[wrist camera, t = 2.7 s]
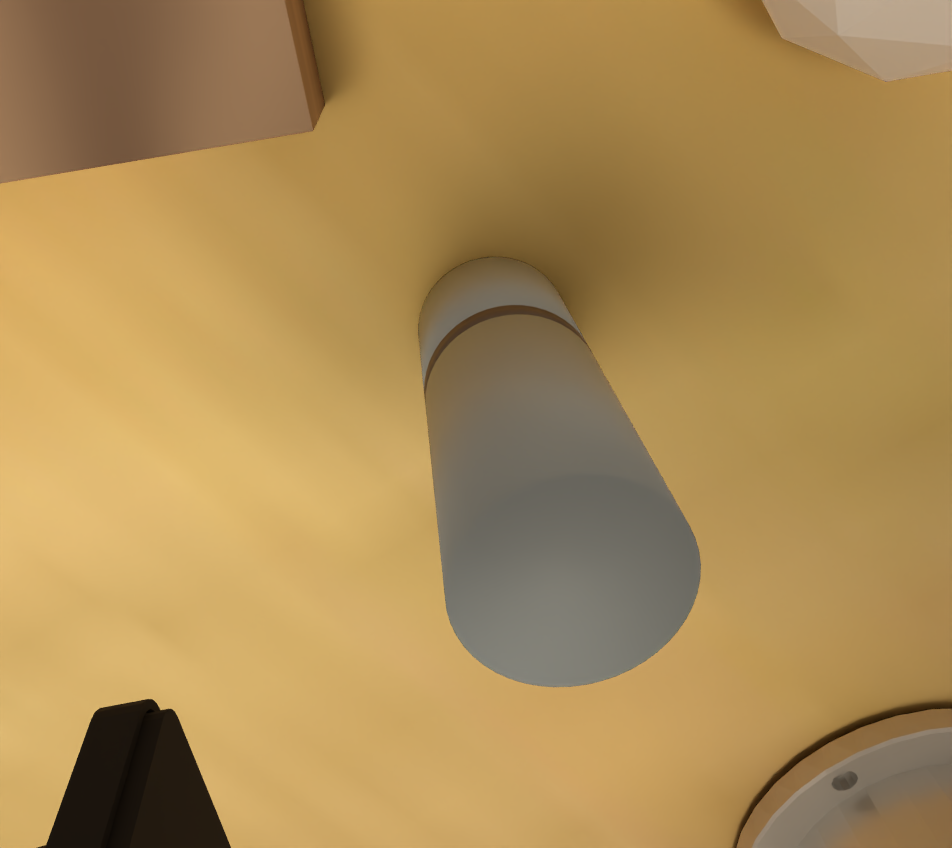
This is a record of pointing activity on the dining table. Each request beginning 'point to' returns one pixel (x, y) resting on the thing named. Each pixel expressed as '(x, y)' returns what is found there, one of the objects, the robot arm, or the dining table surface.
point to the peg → (543, 488)
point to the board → (148, 79)
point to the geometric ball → (871, 33)
